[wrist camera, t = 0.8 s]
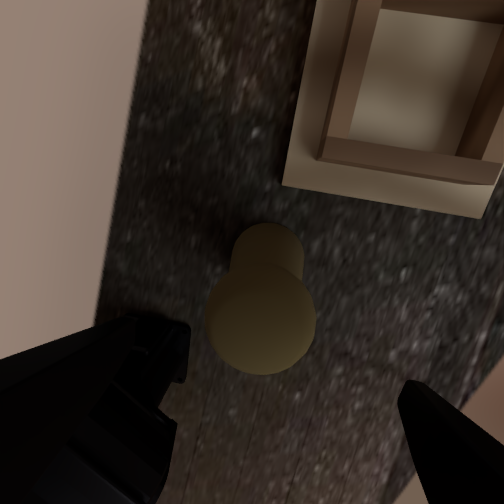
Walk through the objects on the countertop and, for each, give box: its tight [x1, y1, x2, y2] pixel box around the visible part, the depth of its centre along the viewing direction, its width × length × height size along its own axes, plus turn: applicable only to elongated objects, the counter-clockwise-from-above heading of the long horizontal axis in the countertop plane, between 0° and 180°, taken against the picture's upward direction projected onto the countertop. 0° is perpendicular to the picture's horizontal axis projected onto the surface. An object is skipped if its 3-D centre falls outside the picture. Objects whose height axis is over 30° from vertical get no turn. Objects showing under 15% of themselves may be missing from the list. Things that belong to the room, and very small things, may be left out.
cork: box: [205, 223, 316, 375], centre depth 15 cm, size 6×6×11 cm
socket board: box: [282, 0, 504, 219], centre depth 15 cm, size 14×14×4 cm
